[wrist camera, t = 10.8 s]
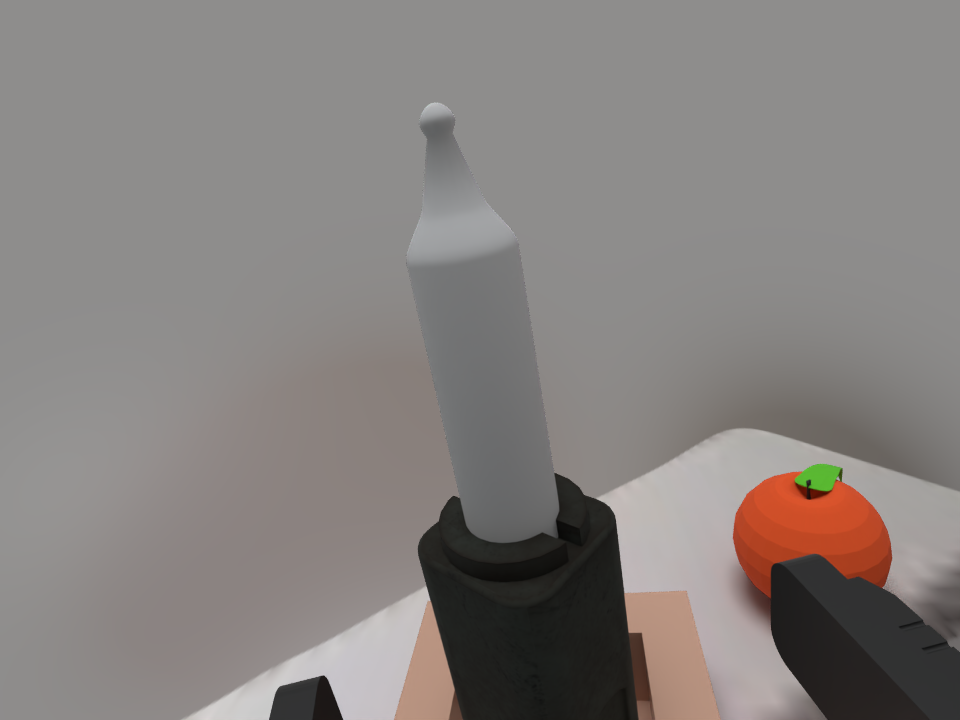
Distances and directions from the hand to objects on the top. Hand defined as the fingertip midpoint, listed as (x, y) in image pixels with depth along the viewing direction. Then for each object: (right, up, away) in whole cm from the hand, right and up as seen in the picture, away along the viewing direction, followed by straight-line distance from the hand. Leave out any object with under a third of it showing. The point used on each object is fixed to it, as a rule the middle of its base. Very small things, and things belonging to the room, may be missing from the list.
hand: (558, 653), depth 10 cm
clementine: (+16, -7, +20) cm, 27 cm away
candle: (+2, -12, +12) cm, 17 cm away
